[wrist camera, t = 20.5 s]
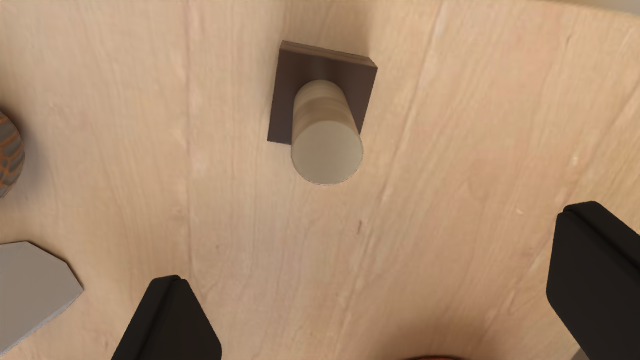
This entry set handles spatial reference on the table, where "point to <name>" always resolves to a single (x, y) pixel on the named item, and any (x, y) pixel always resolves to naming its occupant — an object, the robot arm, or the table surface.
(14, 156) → the vase
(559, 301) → the robot arm
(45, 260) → the flask
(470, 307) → the table surface
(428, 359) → the bowl
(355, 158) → the peg on square base
